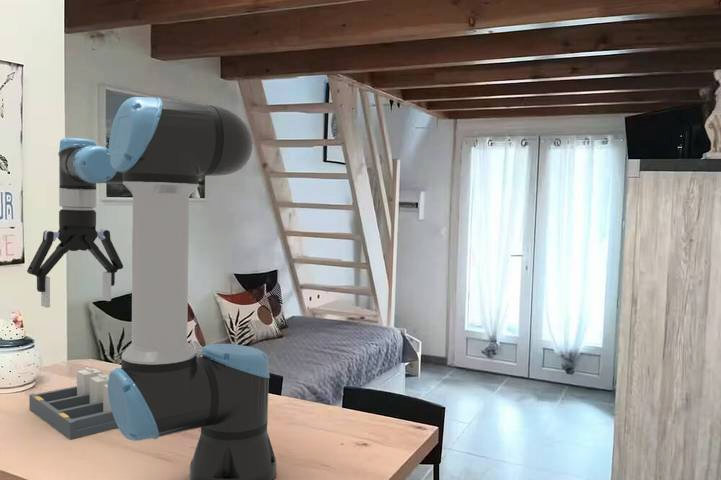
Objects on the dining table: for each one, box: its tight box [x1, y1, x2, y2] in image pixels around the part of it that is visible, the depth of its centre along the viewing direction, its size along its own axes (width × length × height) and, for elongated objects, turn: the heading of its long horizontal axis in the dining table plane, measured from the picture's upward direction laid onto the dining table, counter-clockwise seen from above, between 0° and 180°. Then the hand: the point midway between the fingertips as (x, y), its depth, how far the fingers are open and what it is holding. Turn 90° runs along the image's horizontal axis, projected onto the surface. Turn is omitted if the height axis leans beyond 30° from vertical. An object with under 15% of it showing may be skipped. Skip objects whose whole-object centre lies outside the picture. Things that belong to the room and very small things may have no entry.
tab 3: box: [76, 366, 102, 396], centre depth 143 cm, size 4×4×7 cm
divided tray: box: [28, 385, 119, 440], centre depth 136 cm, size 23×15×4 cm, turn 47°
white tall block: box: [90, 373, 109, 404], centre depth 139 cm, size 4×4×7 cm
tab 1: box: [103, 384, 112, 412], centre depth 134 cm, size 4×4×7 cm
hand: (77, 303), depth 138 cm, fingers open, 13 cm apart
